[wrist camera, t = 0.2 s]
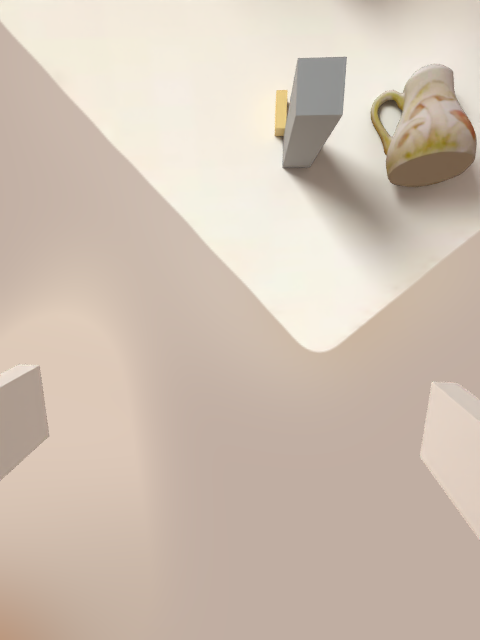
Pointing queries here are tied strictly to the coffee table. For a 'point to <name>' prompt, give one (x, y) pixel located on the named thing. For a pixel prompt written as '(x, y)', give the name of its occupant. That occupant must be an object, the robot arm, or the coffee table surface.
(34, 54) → the coffee table surface
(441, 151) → the white floral pitcher
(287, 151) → the post
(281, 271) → the coffee table surface
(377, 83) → the coffee table surface
